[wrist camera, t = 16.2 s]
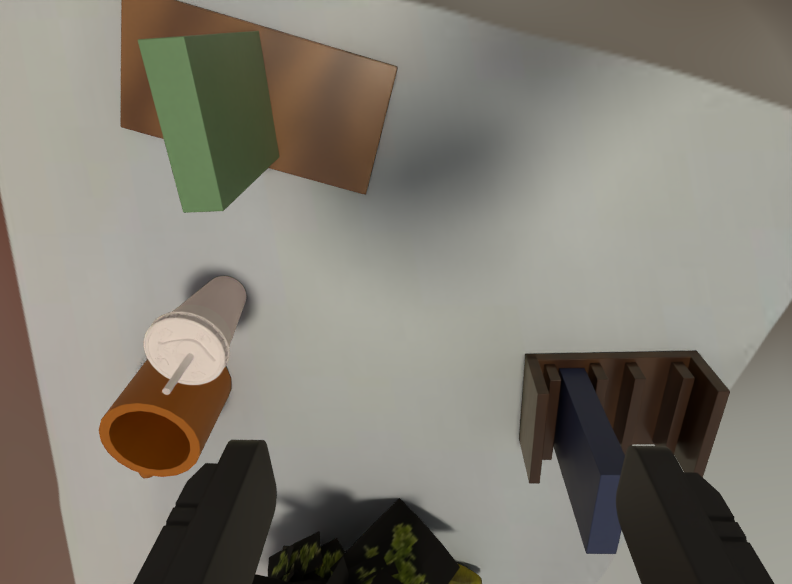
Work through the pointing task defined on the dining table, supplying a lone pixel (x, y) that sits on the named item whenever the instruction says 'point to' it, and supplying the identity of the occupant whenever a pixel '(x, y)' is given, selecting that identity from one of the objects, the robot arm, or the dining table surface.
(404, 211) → the dining table surface
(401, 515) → the potted plant
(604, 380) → the book rack
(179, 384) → the mug
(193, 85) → the green book
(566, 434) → the navy book
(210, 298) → the smoothie
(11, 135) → the dining table surface
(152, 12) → the brown wooden board
